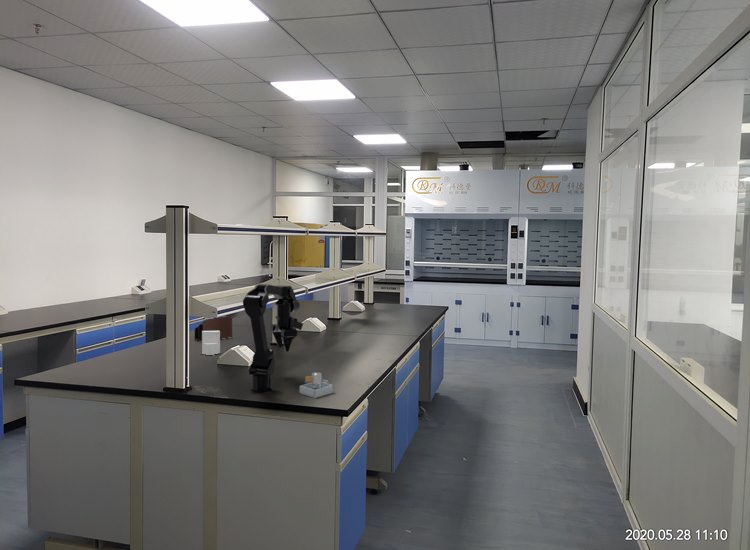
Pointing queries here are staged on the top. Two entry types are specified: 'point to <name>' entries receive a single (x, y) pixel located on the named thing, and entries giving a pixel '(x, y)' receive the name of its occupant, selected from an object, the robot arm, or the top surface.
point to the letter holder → (215, 327)
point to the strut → (314, 380)
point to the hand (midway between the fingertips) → (283, 349)
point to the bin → (316, 393)
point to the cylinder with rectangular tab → (210, 342)
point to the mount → (321, 381)
